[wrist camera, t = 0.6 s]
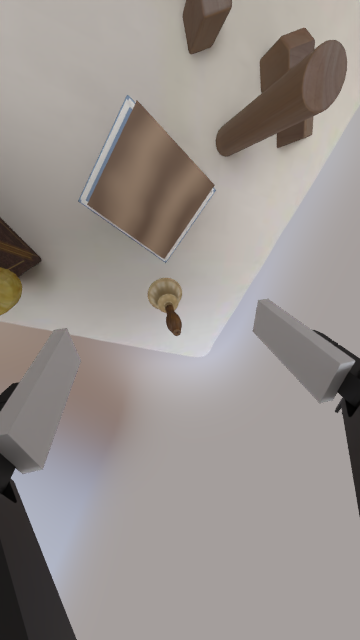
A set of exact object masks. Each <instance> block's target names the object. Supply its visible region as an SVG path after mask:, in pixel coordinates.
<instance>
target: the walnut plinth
mask: <svg viewBox="0 0 360 640" xmlns="http://www.w3.org/2000/svg"><path fill="white" fill-rule="evenodd" d="M214 186H215V185H214V184H213V183H212V182H211V181H210V180H209V178H208V177H207V176H206V175H205V174H204V173H203V172H202V171H201V170H200V169H199V168H198V166H197V165H196V164H195V163H194V162H193V161H192V160H191V159H190V158H189V157H188V155H187V154H186V153H185V152H184V151H183V150H182V149H181V148H180V147H179V146H178V145H177V143H176V142H175V141H174V140H173V139H172V138H171V137H170V136H169V135H168V134H167V132H166V131H165V130H164V129H163V128H162V127H161V126H160V125H159V124H158V123H157V122H156V120H155V119H154V118H153V117H152V116H151V115H150V114H149V113H148V112H147V111H146V109H145V108H144V107H143V106H142V105H141V104H140V103H139V102H138V101H136V103H135V105H134V107H133V109H132V112H131V114H130V116H129V118H128V120H127V122H126V124H125V126H124V128H123V130H122V132H121V135H120V137H119V139H118V141H117V143H116V145H115V147H114V149H113V151H112V153H111V155H110V157H109V160H108V162H107V164H106V166H105V168H104V170H103V172H102V174H101V176H100V178H99V180H98V183H97V185H96V187H95V189H94V191H93V193H92V195H91V197H90V199H89V201H88V203H87V205H88V206H90V207H91V208H93V209H94V210H95V211H97V212H98V213H100V214H101V215H102V216H104V217H105V218H107V219H108V220H109V221H111V222H112V223H114V224H115V225H117V226H118V227H119V228H121V229H122V230H124V231H125V232H126V233H128V234H129V235H131V236H132V237H133V238H135V239H136V240H138V241H139V242H140V243H142V244H143V245H145V246H146V247H148V248H149V249H150V250H152V251H153V252H155V253H156V254H157V255H159V256H160V257H162V258H163V259H165V258H166V256H167V255H168V253H169V252H170V250H171V249H172V247H173V246H174V244H175V243H176V241H177V240H178V239H179V237H180V236H181V234H182V233H183V231H184V230H185V228H186V227H187V225H188V224H189V222H190V221H191V219H192V218H193V216H194V215H195V214H196V212H197V211H198V209H199V208H200V206H201V205H202V203H203V202H204V200H205V199H206V197H207V196H208V194H209V193H210V191H211V190H212V188H213V187H214Z"/></svg>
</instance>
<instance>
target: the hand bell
mask: <svg viewBox="0 0 360 640" xmlns="http://www.w3.org/2000/svg"><path fill="white" fill-rule="evenodd" d="M181 297H182V289H181V287H180V285H179V284H178V283H177V282H176V281H175V280H173V279H170V278H161V279H158V280H156V281H155V282H153V283H152V284H151V286H150V287H149V290H148V299H149V302H150V303H151V304H152V306H154V307H155V308H157V309H160V310H161V311H162V312H165V313H167V317H166V323H167V327H168V329H169V330H170V331H171V332H172V333H173V334H174V335H175V336H178V335H180V333H181V327H182V323H181V320H180V317H179V316H178V315H177V314H176V313H175V312H174V310H175V309H176V308H177V306H178V303H179V301H180V300H181Z"/></svg>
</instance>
